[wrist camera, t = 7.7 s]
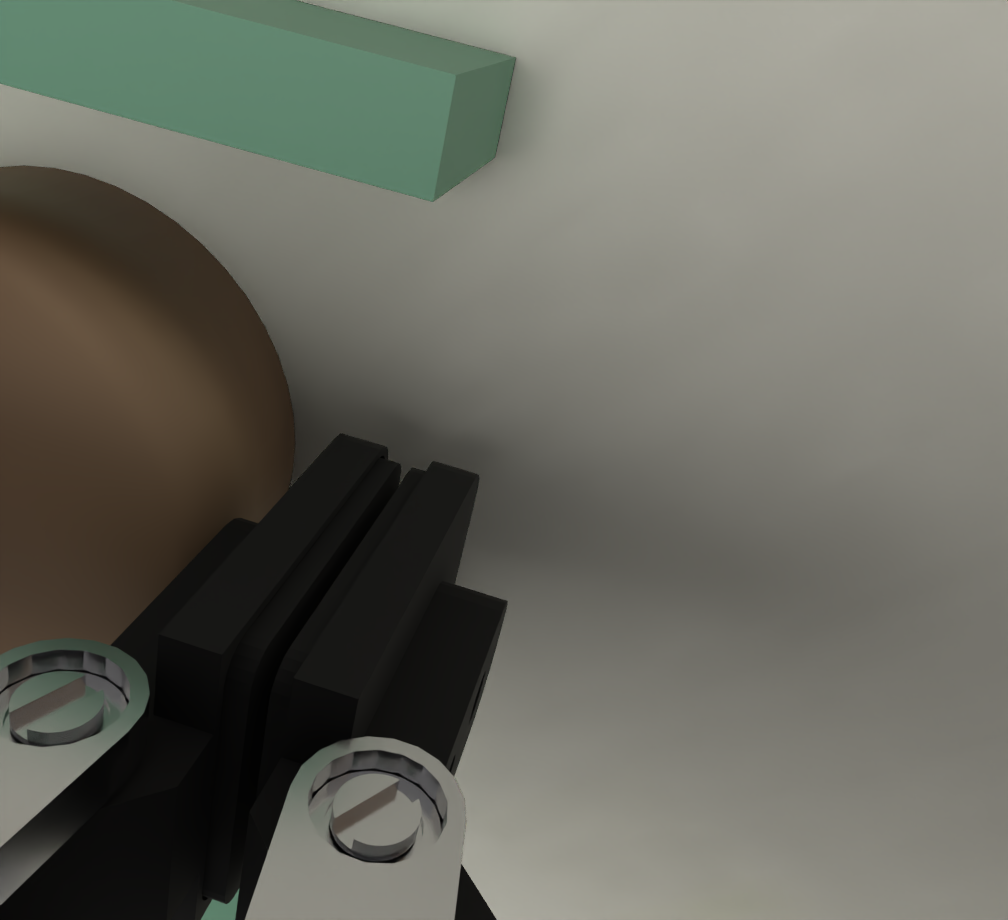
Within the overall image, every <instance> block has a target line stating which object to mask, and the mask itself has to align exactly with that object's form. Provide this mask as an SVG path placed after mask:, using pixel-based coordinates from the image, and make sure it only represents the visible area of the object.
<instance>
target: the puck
mask: <svg viewBox="0 0 1008 920" xmlns="http://www.w3.org/2000/svg"><path fill="white" fill-rule="evenodd" d="M294 452H295V432H294V415H293V410H292V405H291V399H290V394H289V389H288V385H287V381H286V378H285V375H284V372H283V369H282V366H281V363H280V360H279V357H278V354H277V352H276V350H275V348H274V346H273V343H272V341H271V339H270V337H269V335H268V332H267V330H266V328H265V326H264V324H263V323H262V321H261V319H260V318H259V316H258V314H257V313H256V311H255V309H254V308H253V306H252V304H251V303H250V301H249V299H248V298H247V296H246V295H245V294H244V292H243V291H242V290H241V288H240V287H239V286H238V284H237V283H236V282H235V281H234V279H233V278H232V277H231V275H230V274H229V273H228V271H227V270H226V269H225V268H224V267H223V266H222V265H221V264H220V263H219V261H218V260H217V259H216V258H215V257H214V256H213V255H212V254H211V253H210V252H209V251H208V250H207V249H206V248H205V247H204V246H203V245H202V244H201V243H200V242H199V241H198V240H197V239H195V238H194V237H193V236H192V235H191V234H189V233H188V232H187V231H186V230H185V229H184V228H182V227H181V226H180V225H179V224H178V223H177V222H175V221H174V220H172V219H171V218H169V217H168V216H166V215H165V214H163V213H162V212H160V211H159V210H157V209H156V208H155V207H153V206H152V205H150V204H149V203H147V202H145V201H143V200H141V199H139V198H138V197H136V196H134V195H132V194H130V193H128V192H126V191H124V190H122V189H120V188H118V187H116V186H113V185H111V184H108V183H105V182H103V181H100V180H97V179H95V178H92V177H89V176H87V175H83V174H78V173H74V172H70V171H65V170H61V169H56V168H47V167H36V166H11V167H0V655H1V654H3V653H5V652H7V651H9V650H11V649H13V648H16V647H20V646H23V645H26V644H30V643H33V642H37V641H41V640H51V639H62V638H74V639H85V640H95V641H98V642H101V643H104V644H107V645H111V644H112V643H113V642H114V641H115V640H116V639H117V638H118V637H119V636H120V635H121V634H122V633H123V631H124V630H125V629H126V628H127V627H128V626H129V625H130V624H131V623H132V622H133V621H134V620H135V619H136V618H137V617H138V616H139V615H140V614H141V613H142V612H143V611H144V610H145V609H146V608H147V606H148V605H149V604H150V603H151V602H152V601H153V600H154V599H155V598H156V597H157V596H158V595H159V594H160V593H161V592H162V591H163V590H164V589H165V588H166V587H167V586H168V585H169V584H170V583H171V582H172V580H173V579H174V578H175V577H176V576H177V575H178V574H179V573H180V572H181V571H182V570H183V569H184V568H185V567H186V566H187V565H188V564H189V563H190V562H191V561H192V560H193V559H194V558H195V557H196V555H197V554H198V553H199V552H200V551H201V550H202V549H203V548H204V547H205V546H206V545H207V544H208V543H209V542H210V541H211V540H212V539H213V538H214V537H215V536H216V535H217V534H218V533H219V532H220V531H221V529H222V528H223V527H224V526H225V525H226V524H228V523H229V522H230V521H232V520H233V519H235V518H243V519H246V520H249V521H253V522H256V523H259V522H260V521H261V520H262V519H263V518H264V516H265V515H266V514H267V513H268V512H269V511H270V510H271V509H272V508H273V506H274V505H275V504H276V503H277V502H278V501H279V500H280V499H281V498H282V497H283V495H284V494H285V493H286V492H287V491H288V490H289V485H290V481H291V477H292V472H293V464H294Z"/></svg>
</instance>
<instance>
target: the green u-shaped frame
mask: <svg viewBox="0 0 1008 920" xmlns="http://www.w3.org/2000/svg"><path fill="white" fill-rule="evenodd" d="M515 59H516V58H515V57H512V56H508V55H504V54H500V53H496V52H492V51H488V50H485V49H481V48H477V47H473V46H469V45H465V44H461V43H458V42H454V41H450V40H446V39H442V38H438V37H434V36H431V35H427V34H423V33H419V32H415V31H411V30H408V29H404V28H400V27H396V26H392V25H388V24H384V23H381V22H377V21H373V20H369V19H365V18H361V17H357V16H354V15H350V14H346V13H342V12H338V11H334V10H330V9H327V8H323V7H319V6H315V5H311V4H307V3H303V2H300V1H296V0H0V84H4V85H7V86H11V87H15V88H18V89H22V90H26V91H29V92H33V93H37V94H40V95H44V96H47V97H51V98H55V99H58V100H62V101H66V102H69V103H73V104H77V105H80V106H84V107H88V108H91V109H95V110H99V111H102V112H106V113H110V114H113V115H117V116H121V117H124V118H128V119H132V120H135V121H139V122H143V123H146V124H150V125H154V126H157V127H161V128H164V129H168V130H172V131H175V132H179V133H183V134H186V135H190V136H194V137H197V138H201V139H205V140H208V141H212V142H216V143H219V144H223V145H227V146H230V147H234V148H238V149H241V150H245V151H249V152H252V153H256V154H260V155H263V156H267V157H271V158H274V159H278V160H282V161H285V162H289V163H292V164H296V165H300V166H303V167H307V168H311V169H314V170H318V171H322V172H325V173H329V174H333V175H336V176H340V177H344V178H347V179H351V180H355V181H358V182H362V183H366V184H369V185H373V186H377V187H380V188H384V189H388V190H391V191H395V192H399V193H402V194H406V195H409V196H413V197H417V198H420V199H424V200H428V201H431V202H434V201H435V200H436V199H438V198H439V197H441V196H442V195H443V194H445V193H446V192H448V191H449V190H450V189H452V188H453V187H454V186H456V185H457V184H459V183H460V182H461V181H463V180H464V179H466V178H467V177H468V176H470V175H471V174H473V173H474V172H475V171H477V170H478V169H480V168H481V167H482V166H484V165H485V164H487V163H488V162H489V161H491V160H492V159H493V158H495V155H496V150H497V145H498V140H499V135H500V131H501V126H502V121H503V116H504V112H505V107H506V102H507V97H508V92H509V88H510V83H511V78H512V73H513V69H514V64H515ZM238 895H239V889H238V891H237V893H236V894H235V896H234V898H233V899H232V900H231V901H230V903H228V904H224V903H222V902H219V901H216V900H213V899H212V901H211V903H210V904H209V906H208V908H207V910H206V911H205V913H204V915H203V917H202V918H201V920H235V917H236V910H237V902H238Z"/></svg>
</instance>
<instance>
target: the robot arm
mask: <svg viewBox="0 0 1008 920" xmlns="http://www.w3.org/2000/svg"><path fill="white" fill-rule="evenodd" d="M400 474H401V465H400V464H399V463H396V462H392V461H389V460H388V449H387V447H385V446H382V445H379V444H375V443H372V442H369V441H365V440H362V439H359V438H355V437H352V436H349V435H345V434H341V433H340V434H339V435H338V436H337V437H336V438H335V439H334V440H333V441H332V442H331V443H330V444H329V445H328V447H327V448H326V449H325V450H324V451H323V452H322V453H321V454H320V455H319V457H318V458H317V459H316V460H315V461H314V462H313V463H312V464H311V465H310V467H309V468H308V469H307V470H306V471H305V472H304V473H303V474H302V475H301V477H300V478H299V479H298V480H297V481H296V482H295V483H294V484H293V485H292V487H291V488H290V489H289V490H288V491H287V492H286V493H285V494H284V495H283V497H282V498H281V499H280V500H279V501H278V502H277V503H276V504H275V505H274V506H273V508H272V509H271V510H270V511H269V512H268V513H267V514H266V515H265V516H264V518H263V519H262V520H261V521H260V522H259V523H256V522H253V521H249V520H246V519H243V518H235V519H233V520H232V521H230V522H229V523H228V524H226V525H225V526H224V527H223V528H222V529H221V531H220V532H219V533H218V534H217V535H216V536H215V537H214V538H213V539H212V540H211V541H210V542H209V543H208V544H207V545H206V546H205V547H204V548H203V549H202V550H201V551H200V552H199V553H198V554H197V555H196V557H195V558H194V559H193V560H192V561H191V562H190V563H189V564H188V565H187V566H186V567H185V568H184V569H183V570H182V571H181V572H180V573H179V574H178V575H177V576H176V577H175V578H174V579H173V580H172V582H171V583H170V584H169V585H168V586H167V587H166V588H165V589H164V590H163V591H162V592H161V593H160V594H159V595H158V596H157V597H156V598H155V599H154V600H153V601H152V602H151V603H150V604H149V605H148V606H147V608H146V609H145V610H144V611H143V612H142V613H141V614H140V615H139V616H138V617H137V618H136V619H135V620H134V621H133V622H132V623H131V624H130V625H129V626H128V627H127V628H126V629H125V630H124V631H123V633H122V634H121V635H120V636H119V637H118V638H117V639H116V640H115V641H114V642H113V643H112V644H111V645H107V644H104V643H101V642H98V641H95V640H85V639H74V638H62V639H51V640H41V641H37V642H33V643H30V644H26V645H23V646H20V647H16V648H13V649H11V650H9V651H7V652H5V653H3V654H1V655H0V920H201V918H202V917H203V915H204V913H205V911H206V910H207V908H208V906H209V904H210V903H211V901H212V899H213V900H216V901H219V902H222V903H224V904H228V903H230V901H231V900H232V899H233V898H234V896H235V894H236V893H237V891H238V889H239V895H238V902H237V910H236V917H235V920H496V918H495V916H494V915H493V913H492V912H491V910H490V908H489V907H488V905H487V904H486V902H485V900H484V899H483V897H482V896H481V894H480V893H479V891H478V889H477V888H476V886H475V885H474V883H473V881H472V880H471V878H470V877H469V875H468V873H467V872H466V870H465V869H464V867H463V865H462V864H461V861H462V852H463V844H464V836H465V827H466V810H465V799H464V796H463V794H462V792H461V790H460V788H459V785H458V783H457V781H456V779H455V777H454V775H455V772H456V770H457V767H458V764H459V761H460V758H461V755H462V752H463V750H464V747H465V744H466V741H467V738H468V735H469V733H470V730H471V727H472V724H473V721H474V718H475V715H476V712H477V709H478V706H479V703H480V700H481V696H482V693H483V690H484V687H485V684H486V680H487V677H488V674H489V670H490V667H491V663H492V660H493V656H494V653H495V649H496V646H497V642H498V638H499V635H500V631H501V627H502V624H503V620H504V616H505V612H506V608H507V602H508V601H505V600H502V599H499V598H496V597H493V596H489V595H486V594H483V593H480V592H477V591H473V590H470V589H467V588H464V587H461V586H457V585H455V581H456V577H457V572H458V568H459V564H460V560H461V556H462V552H463V547H464V543H465V539H466V535H467V531H468V527H469V522H470V518H471V514H472V510H473V506H474V501H475V497H476V493H477V488H478V483H479V475H478V474H475V473H472V472H468V471H465V470H462V469H458V468H455V467H452V466H448V465H445V464H442V463H438V462H435V461H433V462H432V463H431V464H430V466H429V468H428V469H427V471H426V472H425V471H422V470H419V469H416V468H411V470H410V471H409V472H408V474H407V475H406V477H405V478H404V480H403V481H402V482H401V484H400V485H399V480H400ZM398 486H399V487H398Z"/></svg>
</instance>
